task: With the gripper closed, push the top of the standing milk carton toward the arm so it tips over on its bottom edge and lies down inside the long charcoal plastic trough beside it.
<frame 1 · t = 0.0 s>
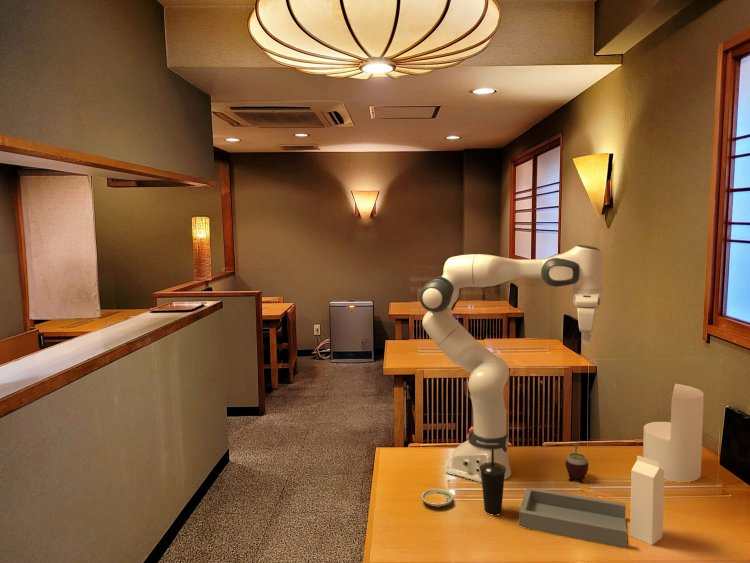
hand: (587, 341, 167), 48 cm above the table, tool pointing down, fingers open, 8 cm apart
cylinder: (671, 470, 181), on the table
saucer: (437, 504, 165), on the table
milk: (646, 537, 145), on the table
mate gourd: (577, 480, 177), on the table
trough: (575, 523, 152), on the table
drinking cup: (493, 512, 159), on the table
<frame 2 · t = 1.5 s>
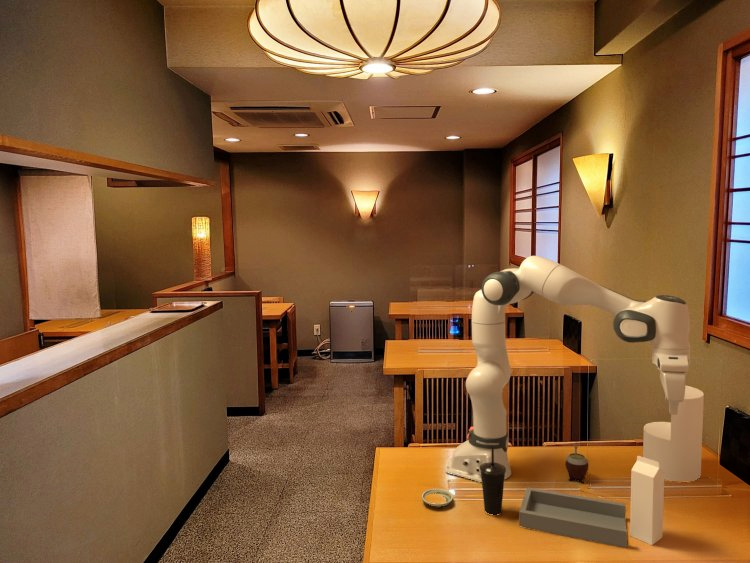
hand: (671, 408, 142), 35 cm above the table, tool pointing down, fingers open, 8 cm apart
nothing on the table moved.
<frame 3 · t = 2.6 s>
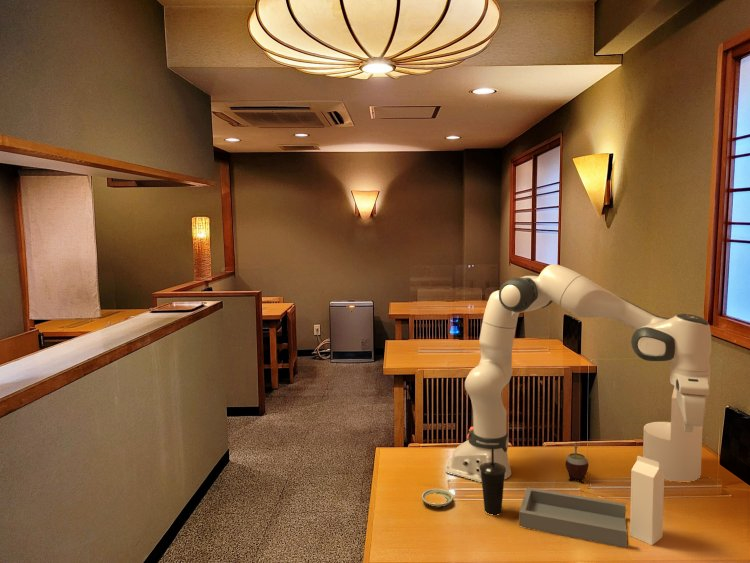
hand: (687, 430, 138), 31 cm above the table, tool pointing down, fingers closed
nothing on the table moved.
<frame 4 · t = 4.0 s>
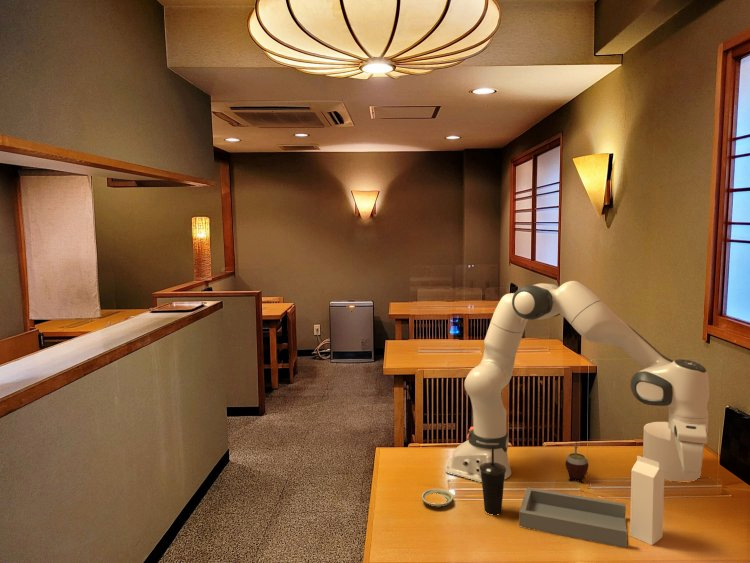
hand: (686, 474, 139), 19 cm above the table, tool pointing down, fingers closed
nothing on the table moved.
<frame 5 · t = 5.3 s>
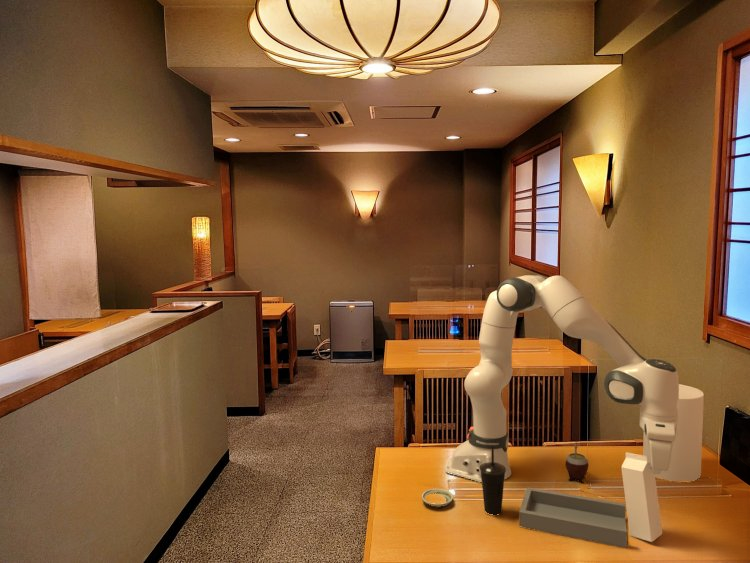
hand: (656, 471, 142), 19 cm above the table, tool pointing down, fingers closed
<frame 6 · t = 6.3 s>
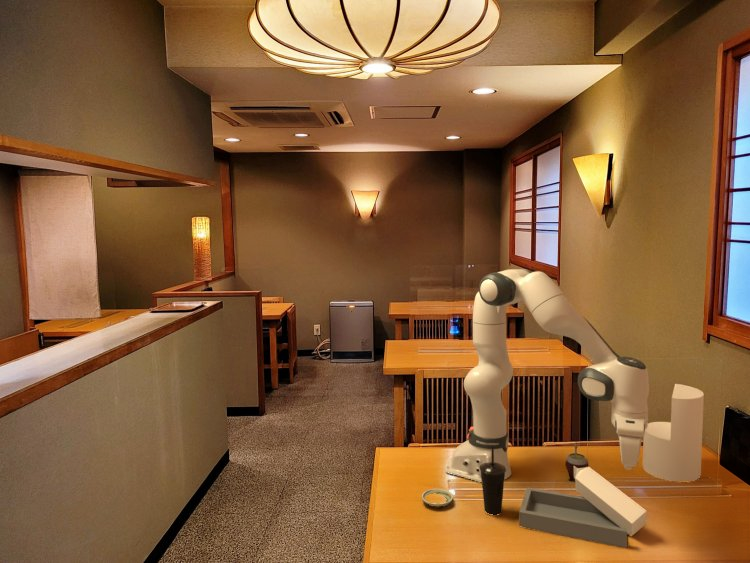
hand: (627, 467, 145), 19 cm above the table, tool pointing down, fingers closed
milk: (639, 524, 143), point 4 cm above the table, touching trough
everything else where it was.
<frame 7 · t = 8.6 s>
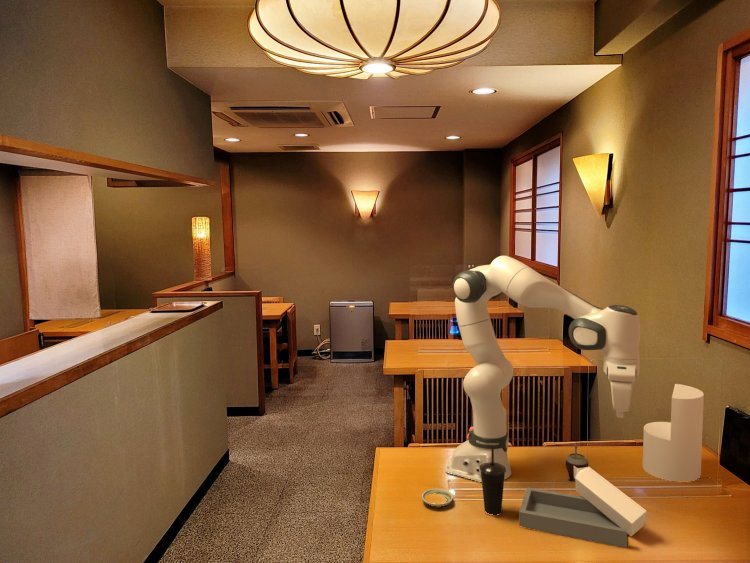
hand: (620, 416, 144), 33 cm above the table, tool pointing down, fingers closed
nothing on the table moved.
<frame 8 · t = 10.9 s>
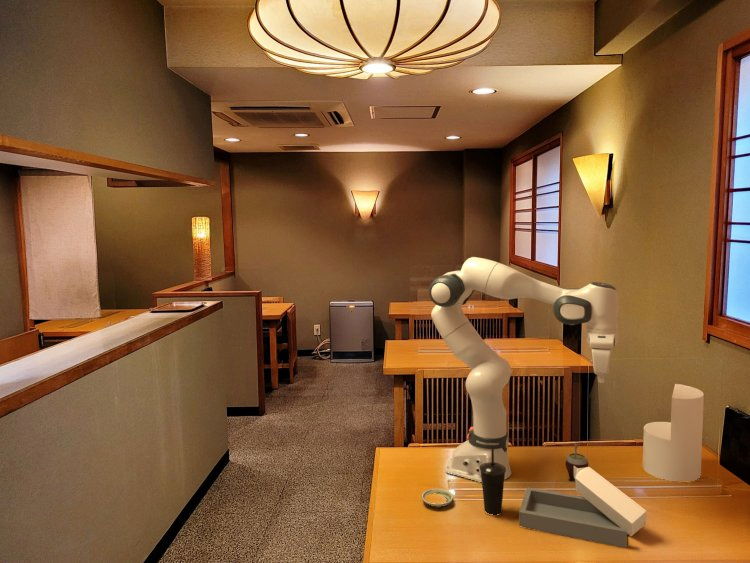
hand: (601, 381, 161), 37 cm above the table, tool pointing down, fingers closed
nothing on the table moved.
at the end: milk tilted 73°; milk inside the target area on the trough (3.2 cm from its centre), point 3.9 cm above the trough's base; milk touching trough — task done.
